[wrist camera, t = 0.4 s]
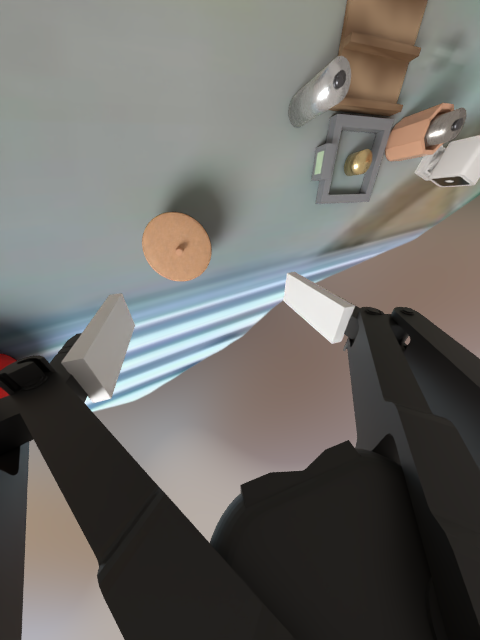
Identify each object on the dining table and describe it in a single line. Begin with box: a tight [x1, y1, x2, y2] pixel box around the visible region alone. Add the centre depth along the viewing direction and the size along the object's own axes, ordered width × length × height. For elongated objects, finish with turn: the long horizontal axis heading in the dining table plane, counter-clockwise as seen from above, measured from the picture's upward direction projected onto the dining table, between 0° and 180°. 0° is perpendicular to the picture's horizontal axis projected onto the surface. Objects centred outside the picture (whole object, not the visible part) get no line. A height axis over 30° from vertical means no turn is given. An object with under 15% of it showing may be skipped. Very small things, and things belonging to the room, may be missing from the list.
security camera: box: [415, 135, 480, 187], centre depth 39 cm, size 6×7×10 cm
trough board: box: [329, 0, 428, 116], centre depth 29 cm, size 13×14×2 cm
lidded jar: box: [142, 212, 211, 281], centre depth 32 cm, size 11×11×9 cm
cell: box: [288, 56, 351, 127], centre depth 26 cm, size 4×4×10 cm
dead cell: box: [424, 108, 466, 147], centre depth 33 cm, size 4×4×10 cm
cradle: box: [311, 114, 394, 204], centre depth 36 cm, size 13×15×3 cm
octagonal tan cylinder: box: [385, 103, 454, 162], centre depth 35 cm, size 6×6×7 cm
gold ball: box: [344, 149, 372, 176], centre depth 35 cm, size 4×4×3 cm
